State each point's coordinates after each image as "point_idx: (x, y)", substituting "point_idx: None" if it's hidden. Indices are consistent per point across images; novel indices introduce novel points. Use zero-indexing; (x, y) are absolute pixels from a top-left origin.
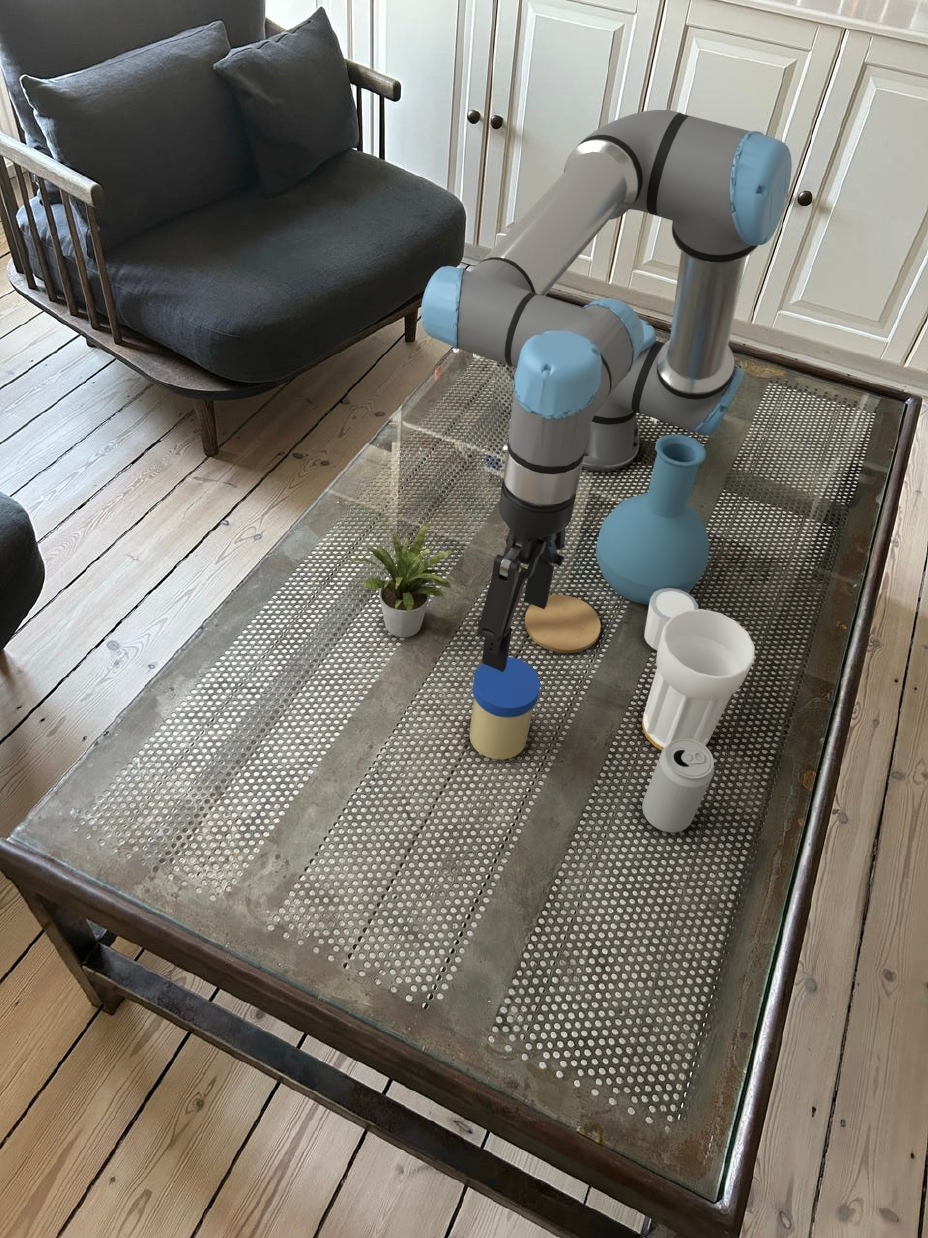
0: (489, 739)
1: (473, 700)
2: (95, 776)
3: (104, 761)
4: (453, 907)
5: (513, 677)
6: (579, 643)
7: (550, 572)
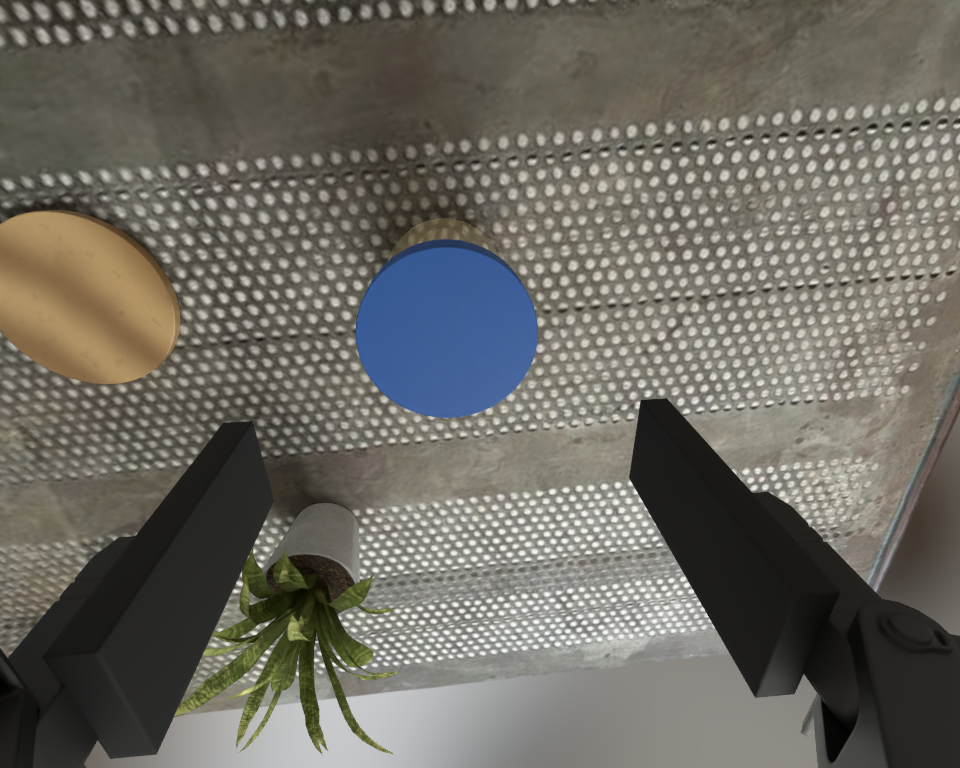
0: None
1: None
2: None
3: None
4: (824, 167)
5: (425, 332)
6: (103, 241)
7: (116, 632)
